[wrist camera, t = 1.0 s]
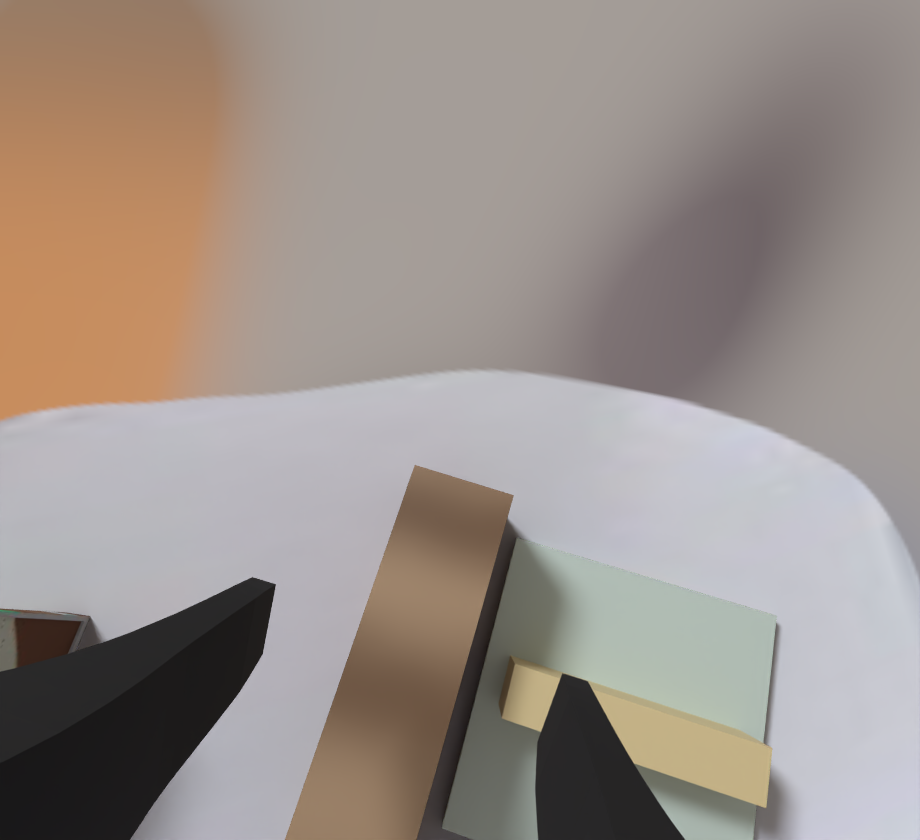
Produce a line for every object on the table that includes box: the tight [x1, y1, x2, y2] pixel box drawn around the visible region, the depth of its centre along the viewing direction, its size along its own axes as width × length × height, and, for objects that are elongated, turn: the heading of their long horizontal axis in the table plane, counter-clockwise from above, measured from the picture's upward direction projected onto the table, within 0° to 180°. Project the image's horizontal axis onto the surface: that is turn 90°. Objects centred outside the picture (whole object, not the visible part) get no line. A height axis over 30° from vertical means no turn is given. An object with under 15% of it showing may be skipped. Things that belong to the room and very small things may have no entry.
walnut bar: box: [285, 465, 514, 840], centre depth 20 cm, size 16×4×6 cm, turn 163°
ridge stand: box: [442, 538, 777, 840], centre depth 21 cm, size 12×12×3 cm
